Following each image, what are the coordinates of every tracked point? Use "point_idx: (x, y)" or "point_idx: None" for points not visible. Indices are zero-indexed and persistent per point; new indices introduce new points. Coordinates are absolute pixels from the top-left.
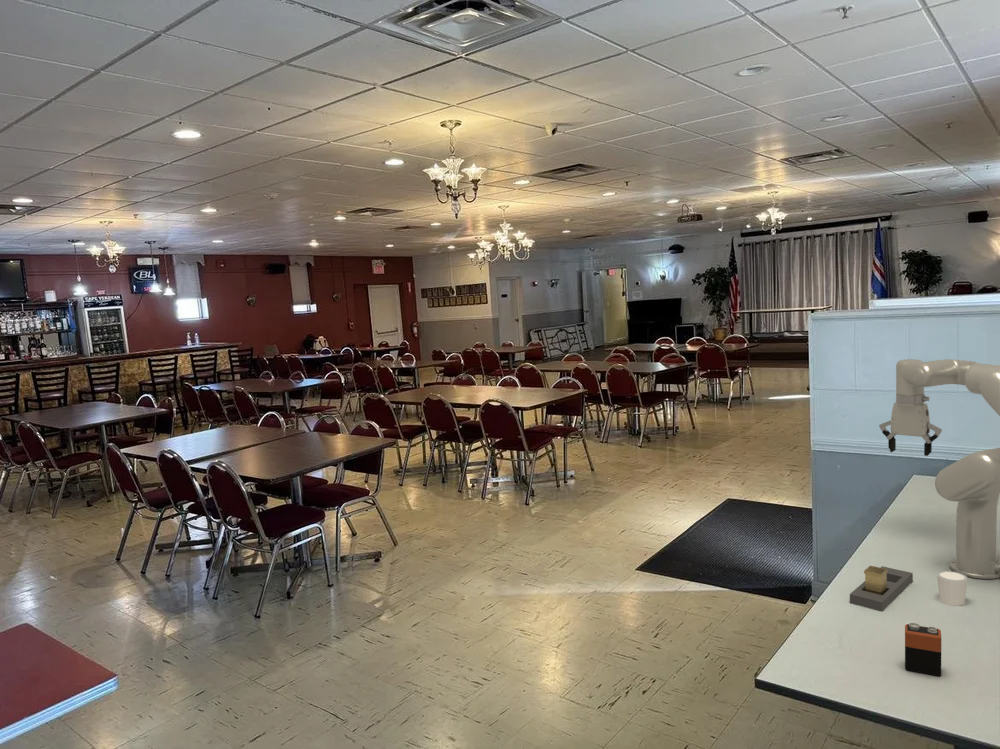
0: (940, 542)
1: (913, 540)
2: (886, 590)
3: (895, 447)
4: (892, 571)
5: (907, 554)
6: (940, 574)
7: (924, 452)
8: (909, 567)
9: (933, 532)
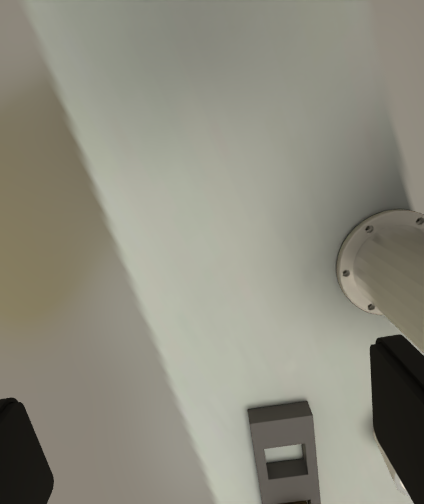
0: (252, 115)
1: (191, 155)
2: (306, 501)
3: (3, 428)
4: (278, 433)
5: (230, 270)
6: (401, 482)
7: (394, 465)
8: (270, 340)
9: (197, 30)
